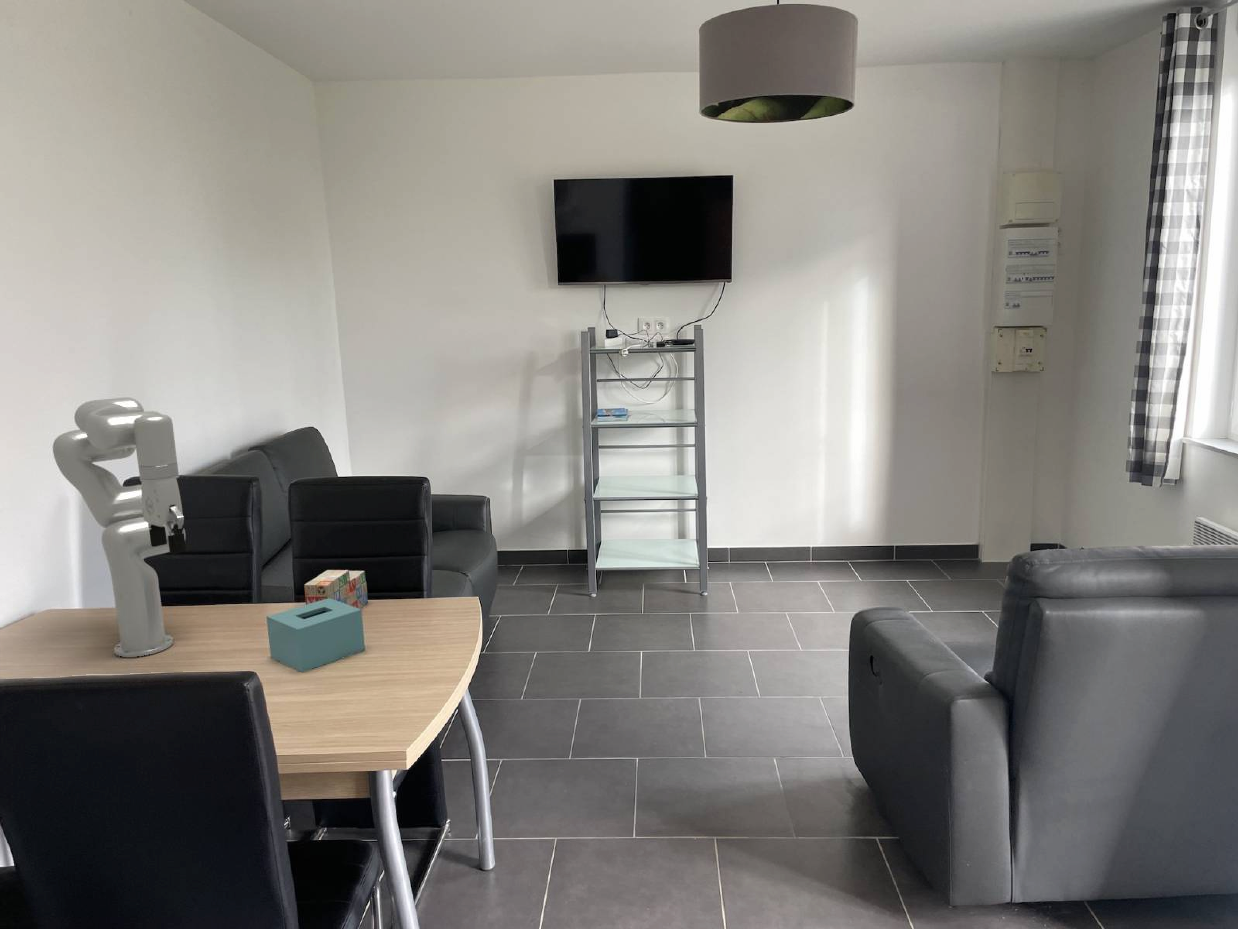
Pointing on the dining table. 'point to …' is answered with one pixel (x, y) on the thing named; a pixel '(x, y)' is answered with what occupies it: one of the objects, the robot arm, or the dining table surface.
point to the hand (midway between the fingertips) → (168, 548)
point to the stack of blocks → (338, 587)
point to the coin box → (315, 634)
